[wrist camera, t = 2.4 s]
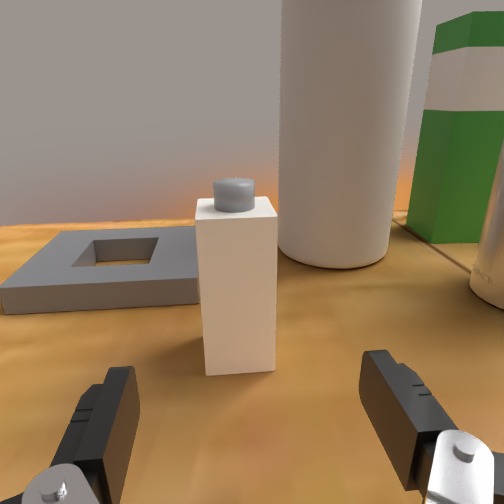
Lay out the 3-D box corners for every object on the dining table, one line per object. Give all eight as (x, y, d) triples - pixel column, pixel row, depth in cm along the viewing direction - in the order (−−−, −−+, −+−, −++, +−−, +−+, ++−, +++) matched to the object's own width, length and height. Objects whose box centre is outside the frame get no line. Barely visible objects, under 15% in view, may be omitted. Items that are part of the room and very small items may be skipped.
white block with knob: (266, 331, 29) (267, 173, 24) (275, 370, 24) (278, 189, 20) (206, 335, 28) (196, 175, 24) (205, 376, 24) (193, 192, 19)
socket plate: (202, 245, 45) (201, 225, 44) (198, 303, 32) (197, 277, 31) (65, 251, 44) (61, 231, 43) (5, 314, 31) (-3, 288, 30)
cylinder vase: (381, 234, 48) (410, 7, 39) (393, 276, 37) (439, -30, 27) (284, 228, 51) (290, 14, 41) (269, 266, 39) (271, -18, 30)
